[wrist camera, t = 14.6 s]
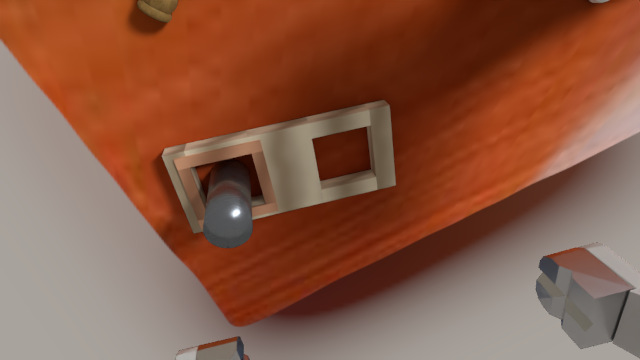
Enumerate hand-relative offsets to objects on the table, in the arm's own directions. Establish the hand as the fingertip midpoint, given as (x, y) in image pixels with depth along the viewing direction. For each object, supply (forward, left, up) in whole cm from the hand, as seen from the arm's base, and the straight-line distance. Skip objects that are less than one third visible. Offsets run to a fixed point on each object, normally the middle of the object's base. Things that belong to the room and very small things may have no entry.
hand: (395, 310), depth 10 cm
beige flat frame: (+2, +12, -33) cm, 35 cm away
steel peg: (+8, +12, -33) cm, 36 cm away
